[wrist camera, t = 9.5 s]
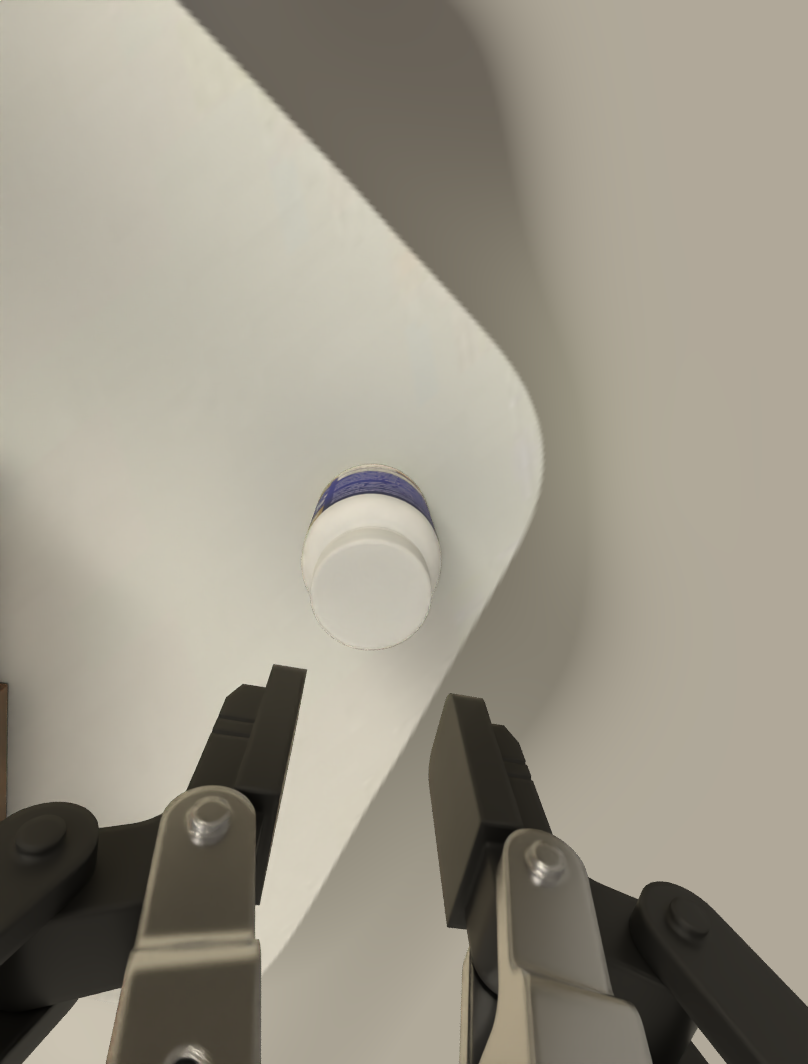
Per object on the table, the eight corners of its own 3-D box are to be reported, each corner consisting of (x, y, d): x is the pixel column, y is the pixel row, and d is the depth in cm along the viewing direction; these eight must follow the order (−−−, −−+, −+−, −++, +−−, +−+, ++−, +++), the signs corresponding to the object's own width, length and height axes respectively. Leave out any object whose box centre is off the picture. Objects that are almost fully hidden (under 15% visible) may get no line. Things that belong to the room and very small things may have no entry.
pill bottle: (307, 469, 26) (275, 528, 17) (421, 455, 26) (444, 507, 17) (325, 576, 27) (304, 677, 19) (432, 563, 27) (458, 657, 19)
